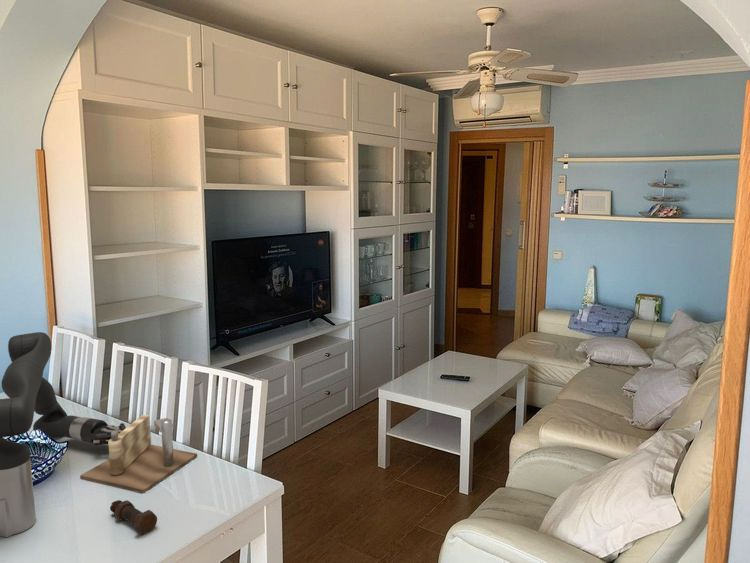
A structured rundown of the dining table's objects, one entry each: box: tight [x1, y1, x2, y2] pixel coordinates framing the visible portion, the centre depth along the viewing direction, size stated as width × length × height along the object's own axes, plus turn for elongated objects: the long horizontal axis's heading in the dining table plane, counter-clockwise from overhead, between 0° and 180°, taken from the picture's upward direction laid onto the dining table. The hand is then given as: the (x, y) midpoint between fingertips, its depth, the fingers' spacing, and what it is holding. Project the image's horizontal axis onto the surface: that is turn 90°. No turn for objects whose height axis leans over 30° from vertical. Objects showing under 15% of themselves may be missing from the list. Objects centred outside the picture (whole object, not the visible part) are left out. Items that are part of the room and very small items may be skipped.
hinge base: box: [79, 430, 198, 494], centre depth 177 cm, size 24×23×14 cm
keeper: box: [153, 417, 175, 467], centre depth 178 cm, size 4×8×14 cm, turn 35°
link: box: [107, 414, 152, 475], centre depth 180 cm, size 21×4×10 cm, turn 175°
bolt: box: [109, 499, 158, 536], centre depth 149 cm, size 6×5×15 cm
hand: (130, 438), depth 184 cm, fingers closed
